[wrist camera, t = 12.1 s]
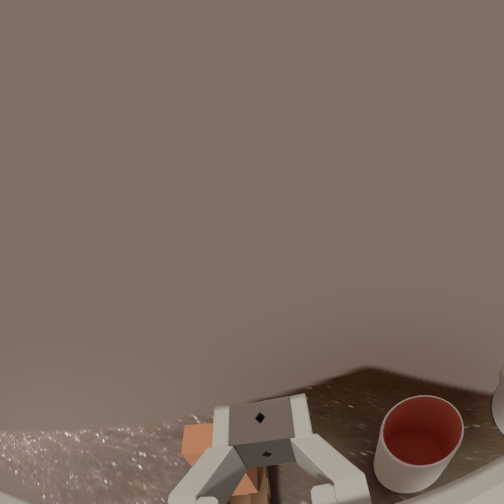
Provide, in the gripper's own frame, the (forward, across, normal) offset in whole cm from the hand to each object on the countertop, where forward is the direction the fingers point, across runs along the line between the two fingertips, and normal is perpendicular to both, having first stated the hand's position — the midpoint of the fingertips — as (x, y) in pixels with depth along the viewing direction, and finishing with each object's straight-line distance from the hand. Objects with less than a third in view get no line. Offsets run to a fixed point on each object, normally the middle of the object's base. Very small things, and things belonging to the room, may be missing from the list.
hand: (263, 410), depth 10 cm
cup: (+9, -14, +34) cm, 38 cm away
